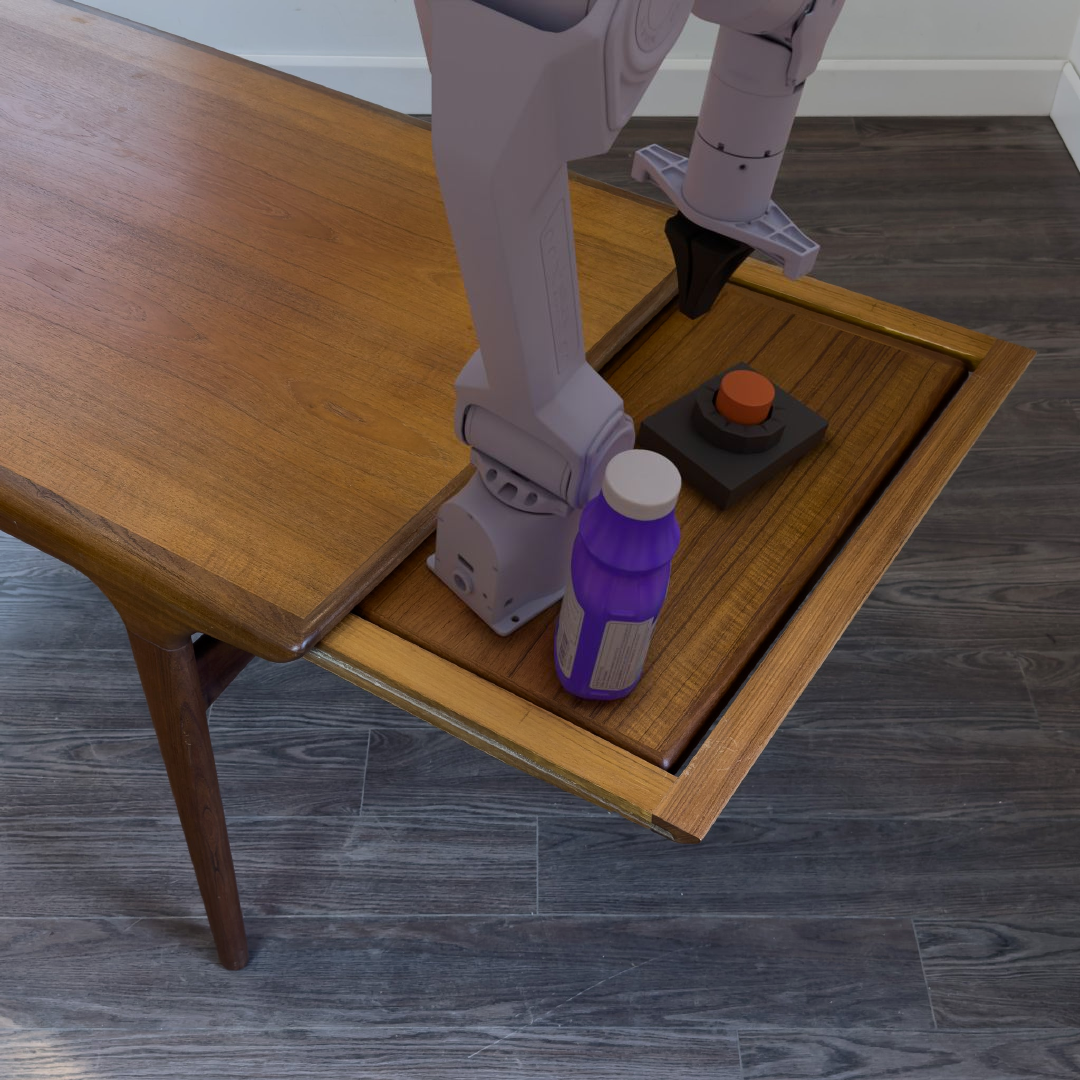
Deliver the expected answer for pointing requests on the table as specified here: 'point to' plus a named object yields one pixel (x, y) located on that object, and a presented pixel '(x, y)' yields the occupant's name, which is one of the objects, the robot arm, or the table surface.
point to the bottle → (618, 576)
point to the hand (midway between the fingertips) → (694, 310)
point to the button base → (730, 440)
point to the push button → (745, 397)
